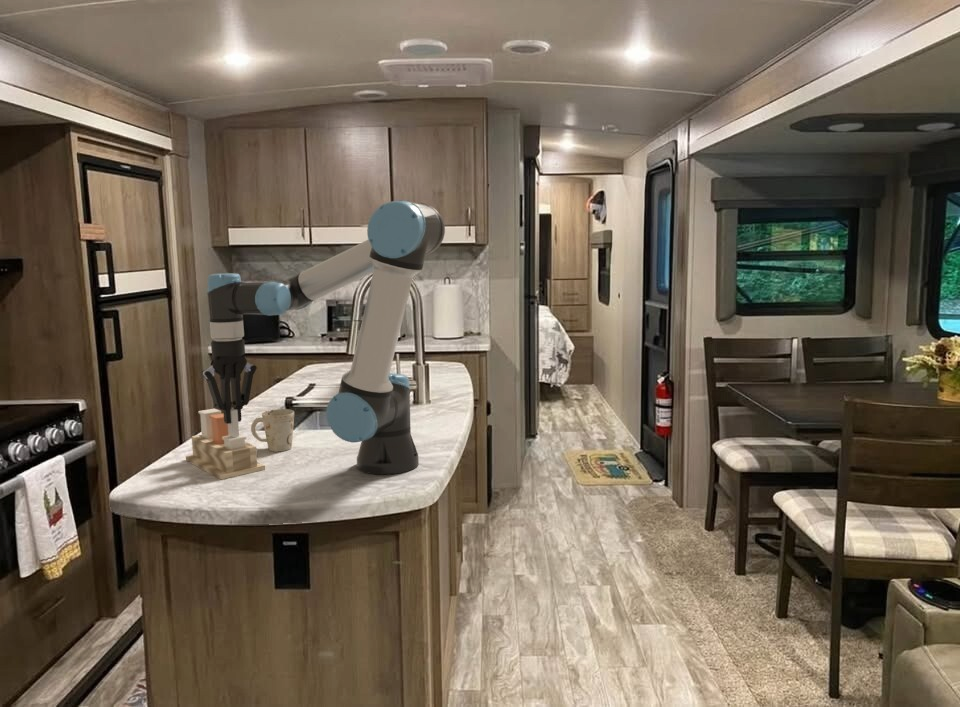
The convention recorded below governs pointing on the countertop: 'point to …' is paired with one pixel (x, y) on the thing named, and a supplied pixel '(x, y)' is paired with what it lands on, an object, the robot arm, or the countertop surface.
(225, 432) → the plug centre
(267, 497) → the countertop surface
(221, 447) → the stepped wooden base
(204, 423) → the plug far
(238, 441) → the plug near
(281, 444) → the mug
